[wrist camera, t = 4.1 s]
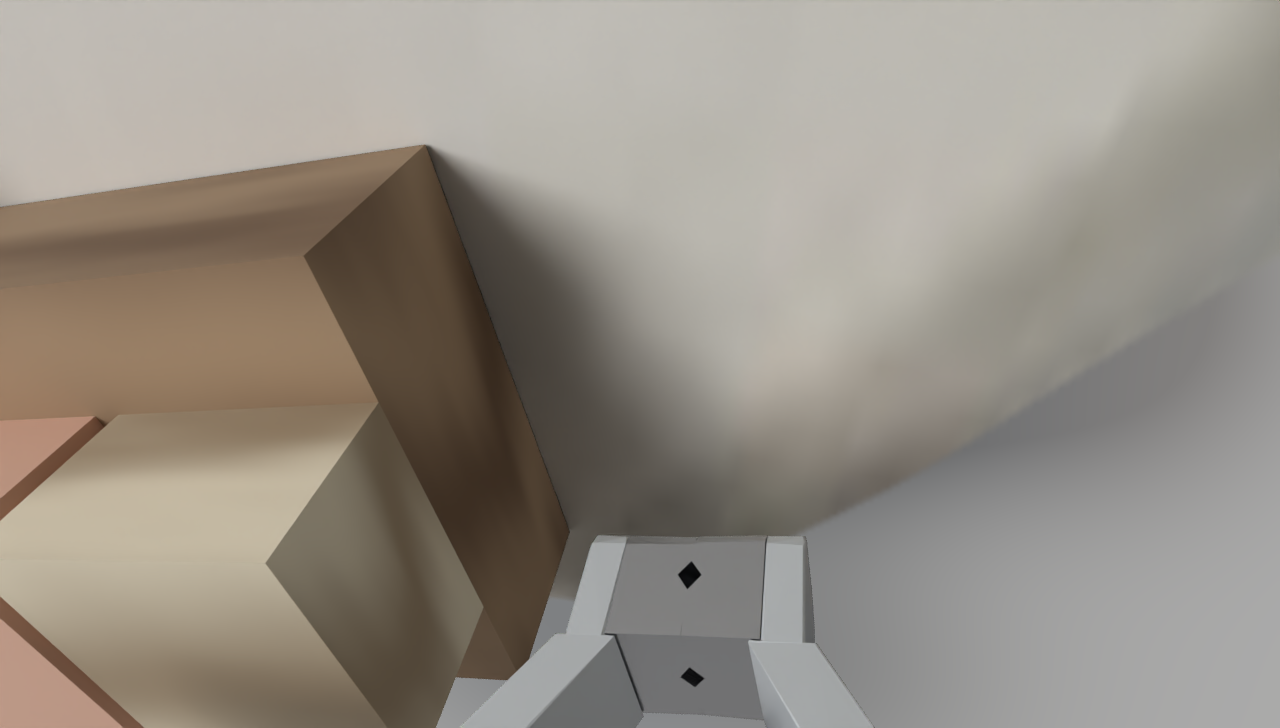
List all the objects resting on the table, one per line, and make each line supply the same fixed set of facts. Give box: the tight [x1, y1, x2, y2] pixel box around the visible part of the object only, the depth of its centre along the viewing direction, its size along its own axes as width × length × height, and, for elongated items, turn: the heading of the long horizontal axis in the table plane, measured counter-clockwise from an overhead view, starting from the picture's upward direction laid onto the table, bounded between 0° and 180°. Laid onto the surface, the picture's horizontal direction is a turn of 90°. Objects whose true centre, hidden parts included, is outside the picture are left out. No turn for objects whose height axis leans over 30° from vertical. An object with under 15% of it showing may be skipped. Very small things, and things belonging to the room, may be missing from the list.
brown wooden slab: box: [0, 145, 569, 680], centre depth 16 cm, size 10×12×4 cm
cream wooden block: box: [0, 402, 483, 728], centre depth 12 cm, size 5×5×3 cm
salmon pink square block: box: [0, 416, 144, 728], centre depth 13 cm, size 5×5×3 cm
